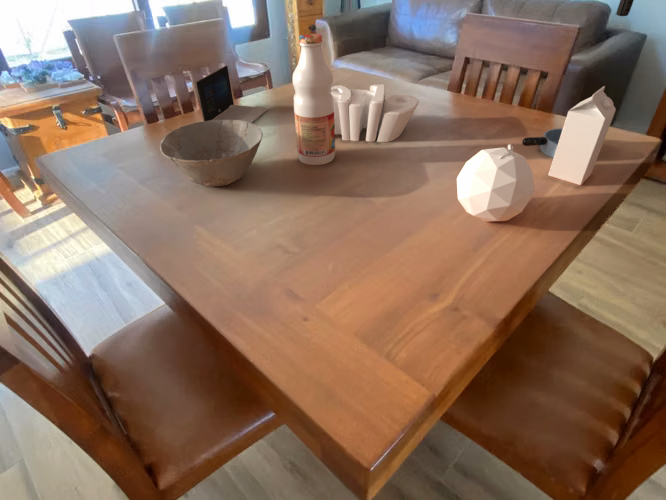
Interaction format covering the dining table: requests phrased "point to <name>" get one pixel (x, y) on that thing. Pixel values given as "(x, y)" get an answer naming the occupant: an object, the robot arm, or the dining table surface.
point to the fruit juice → (313, 104)
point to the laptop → (222, 99)
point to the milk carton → (582, 138)
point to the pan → (545, 141)
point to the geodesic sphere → (495, 184)
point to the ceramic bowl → (213, 150)
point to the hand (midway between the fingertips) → (621, 15)
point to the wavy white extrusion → (371, 113)
